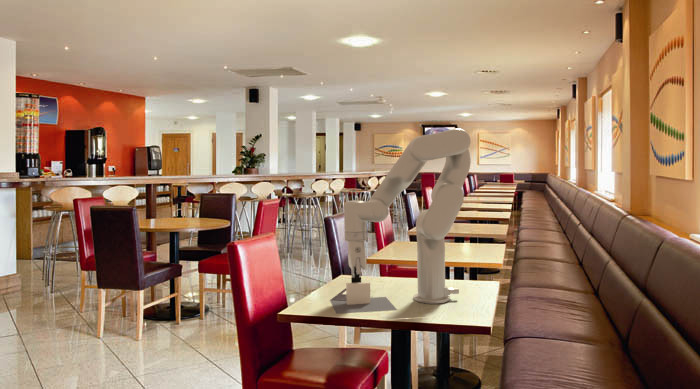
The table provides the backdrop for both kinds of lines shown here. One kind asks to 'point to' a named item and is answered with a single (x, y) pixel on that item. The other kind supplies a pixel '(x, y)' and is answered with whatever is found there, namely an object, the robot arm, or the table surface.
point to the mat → (363, 306)
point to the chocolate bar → (340, 296)
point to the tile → (358, 293)
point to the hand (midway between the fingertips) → (356, 288)
